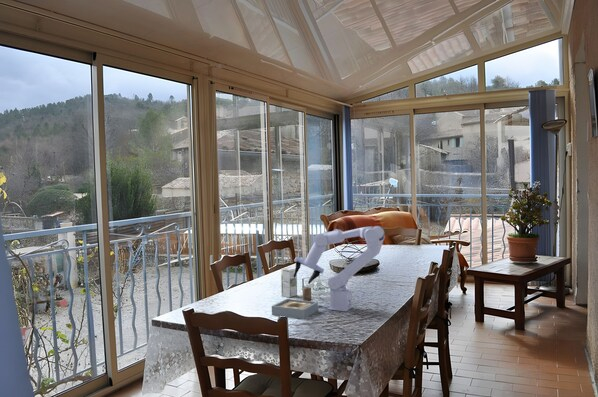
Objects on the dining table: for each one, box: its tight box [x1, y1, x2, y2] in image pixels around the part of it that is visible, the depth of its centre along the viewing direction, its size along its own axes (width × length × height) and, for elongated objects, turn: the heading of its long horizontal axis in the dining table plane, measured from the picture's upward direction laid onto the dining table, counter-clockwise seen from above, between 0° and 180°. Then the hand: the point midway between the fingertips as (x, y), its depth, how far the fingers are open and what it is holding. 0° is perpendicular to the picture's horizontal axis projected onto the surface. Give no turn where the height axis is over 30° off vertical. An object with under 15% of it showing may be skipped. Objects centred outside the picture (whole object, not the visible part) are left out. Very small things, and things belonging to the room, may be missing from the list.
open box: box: [271, 298, 319, 320], centre depth 222 cm, size 16×14×4 cm
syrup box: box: [280, 266, 298, 299], centre depth 253 cm, size 6×6×14 cm
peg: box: [302, 286, 312, 301], centre depth 235 cm, size 4×4×8 cm
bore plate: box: [281, 301, 311, 309], centre depth 222 cm, size 11×11×3 cm
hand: (301, 279), depth 236 cm, fingers open, 7 cm apart
